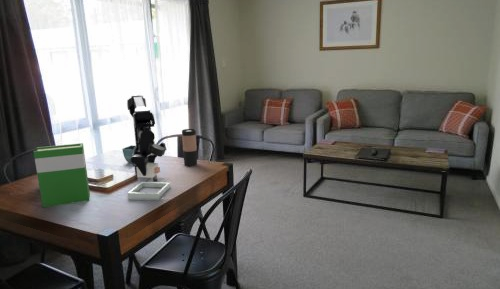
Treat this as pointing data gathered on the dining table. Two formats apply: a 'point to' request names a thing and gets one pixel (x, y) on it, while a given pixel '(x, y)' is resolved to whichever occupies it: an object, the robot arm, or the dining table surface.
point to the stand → (157, 179)
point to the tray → (148, 196)
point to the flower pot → (128, 153)
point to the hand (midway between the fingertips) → (148, 173)
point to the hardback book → (62, 174)
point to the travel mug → (189, 147)
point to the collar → (149, 170)
